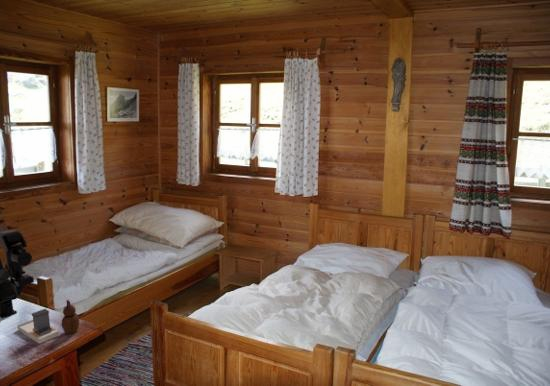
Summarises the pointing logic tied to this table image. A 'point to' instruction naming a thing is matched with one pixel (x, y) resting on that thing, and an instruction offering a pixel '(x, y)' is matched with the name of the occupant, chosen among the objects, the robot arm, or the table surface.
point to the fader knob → (41, 322)
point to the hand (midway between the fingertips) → (18, 295)
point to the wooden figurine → (70, 319)
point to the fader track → (28, 331)
